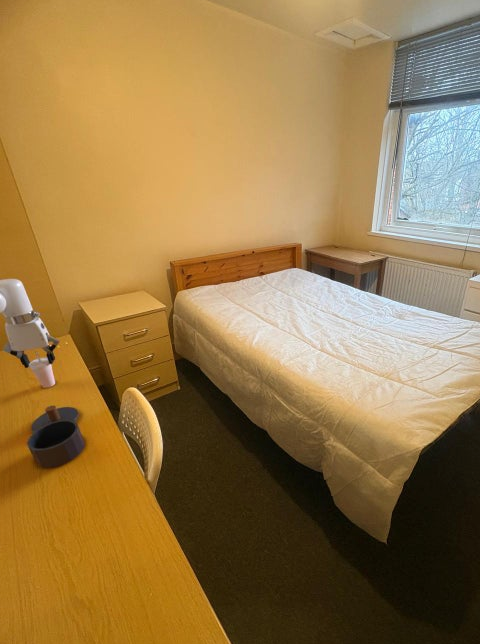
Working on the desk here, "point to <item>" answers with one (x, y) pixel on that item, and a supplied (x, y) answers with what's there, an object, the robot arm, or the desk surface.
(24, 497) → the desk surface
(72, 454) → the pot
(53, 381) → the smoothie
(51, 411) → the lid
